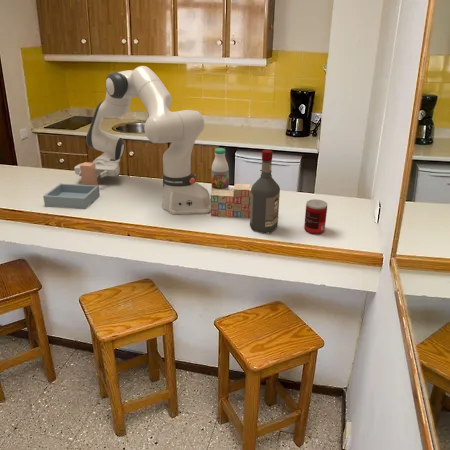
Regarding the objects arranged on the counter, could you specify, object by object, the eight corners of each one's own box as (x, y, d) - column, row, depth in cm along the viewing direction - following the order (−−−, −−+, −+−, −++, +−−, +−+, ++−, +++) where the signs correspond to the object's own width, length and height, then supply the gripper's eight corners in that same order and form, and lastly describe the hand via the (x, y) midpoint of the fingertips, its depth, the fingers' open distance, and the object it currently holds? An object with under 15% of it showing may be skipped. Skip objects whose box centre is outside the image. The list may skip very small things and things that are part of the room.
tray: (99, 195, 201) (98, 185, 199) (85, 208, 188) (84, 198, 186) (61, 192, 203) (60, 183, 201) (44, 206, 190) (43, 196, 188)
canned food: (321, 225, 175) (324, 199, 170) (326, 234, 168) (329, 207, 163) (302, 225, 175) (304, 199, 170) (306, 235, 167) (308, 207, 163)
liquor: (247, 229, 171) (249, 152, 158) (258, 220, 178) (261, 146, 165) (269, 235, 167) (273, 156, 154) (279, 226, 174) (284, 150, 161)
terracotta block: (98, 187, 210) (95, 162, 204) (93, 191, 205) (90, 166, 200) (87, 187, 210) (84, 162, 205) (83, 190, 206) (79, 165, 201)
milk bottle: (209, 189, 208) (209, 147, 199) (225, 188, 210) (226, 146, 201) (214, 196, 201) (214, 152, 193) (230, 194, 203) (231, 150, 195)
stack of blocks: (210, 216, 182) (210, 187, 177) (212, 210, 188) (212, 182, 182) (263, 219, 179) (265, 190, 174) (264, 213, 185) (265, 185, 180)
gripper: (80, 158, 218) (67, 167, 206) (121, 160, 216) (110, 169, 203) (82, 171, 221) (69, 180, 209) (122, 173, 218) (112, 183, 206)
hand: (90, 175), depth 206 cm, fingers open, 8 cm apart
